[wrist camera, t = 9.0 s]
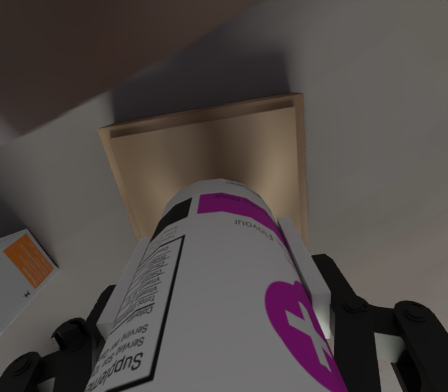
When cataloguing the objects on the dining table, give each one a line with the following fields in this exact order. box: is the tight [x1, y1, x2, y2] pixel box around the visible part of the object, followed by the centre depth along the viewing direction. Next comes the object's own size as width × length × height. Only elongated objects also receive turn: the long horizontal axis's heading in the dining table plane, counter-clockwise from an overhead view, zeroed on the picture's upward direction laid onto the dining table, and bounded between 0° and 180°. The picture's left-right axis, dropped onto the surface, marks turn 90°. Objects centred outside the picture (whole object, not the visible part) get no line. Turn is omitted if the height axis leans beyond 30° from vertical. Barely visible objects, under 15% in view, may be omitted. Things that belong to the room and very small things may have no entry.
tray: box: [98, 92, 309, 252], centre depth 24 cm, size 16×16×4 cm
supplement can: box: [84, 179, 348, 392], centre depth 12 cm, size 8×8×15 cm
